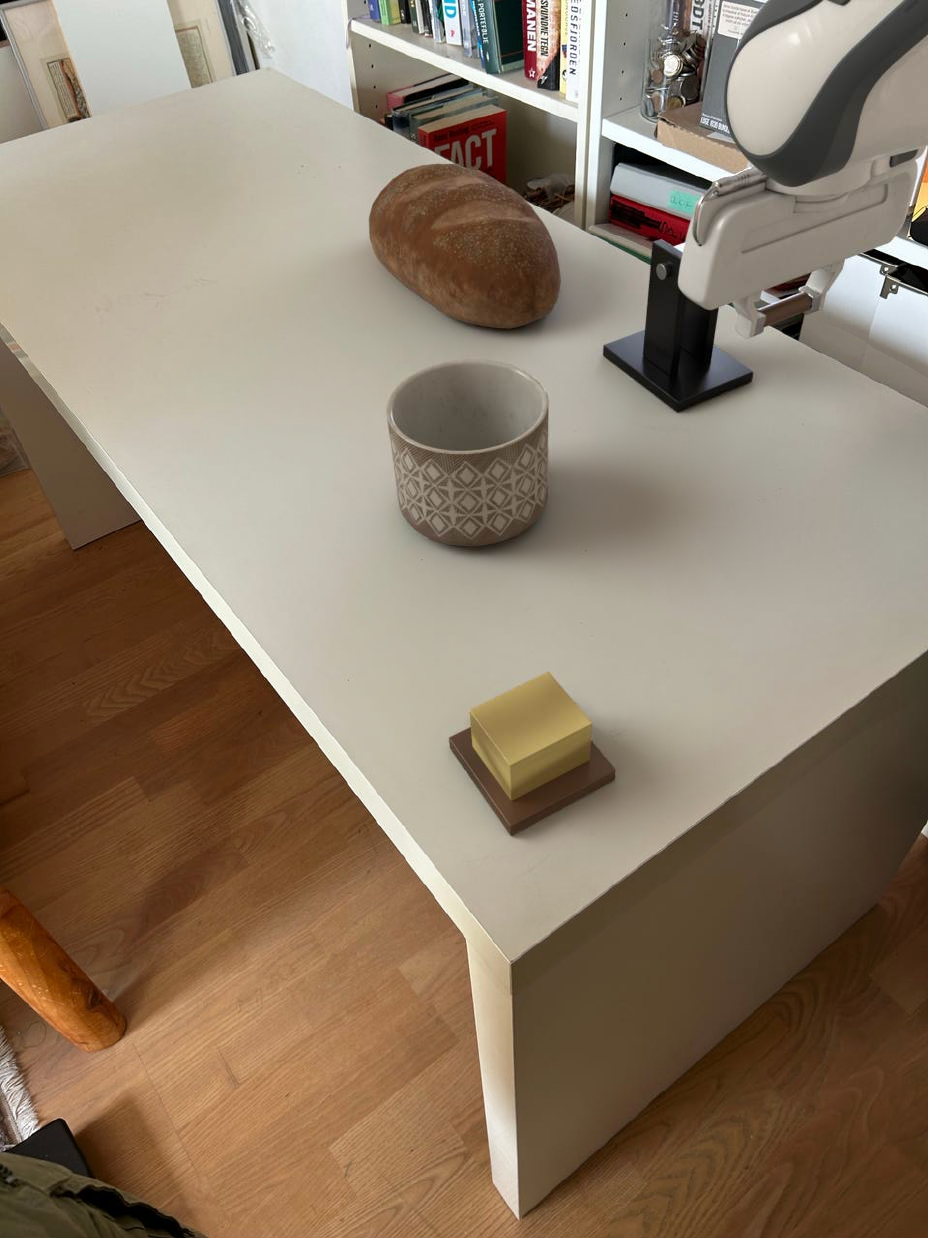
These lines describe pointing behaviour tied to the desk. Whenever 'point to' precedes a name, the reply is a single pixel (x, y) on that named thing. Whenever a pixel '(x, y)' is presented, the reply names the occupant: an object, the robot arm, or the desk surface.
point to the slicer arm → (777, 304)
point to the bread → (466, 245)
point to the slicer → (676, 342)
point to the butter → (531, 753)
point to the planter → (470, 450)
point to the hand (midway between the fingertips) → (779, 321)
